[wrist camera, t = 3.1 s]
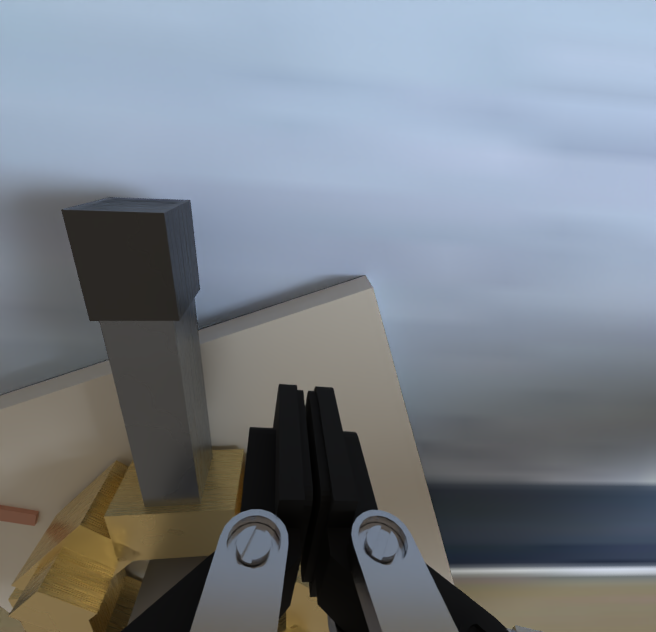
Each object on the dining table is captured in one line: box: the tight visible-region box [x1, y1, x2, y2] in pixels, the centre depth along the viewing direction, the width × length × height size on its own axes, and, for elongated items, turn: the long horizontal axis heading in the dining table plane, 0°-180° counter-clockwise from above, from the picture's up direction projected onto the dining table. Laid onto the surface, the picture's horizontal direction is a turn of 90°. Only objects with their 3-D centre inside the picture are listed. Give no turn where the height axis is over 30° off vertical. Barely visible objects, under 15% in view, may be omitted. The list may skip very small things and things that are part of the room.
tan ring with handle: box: [8, 197, 329, 632], centre depth 14 cm, size 24×14×4 cm, turn 177°
